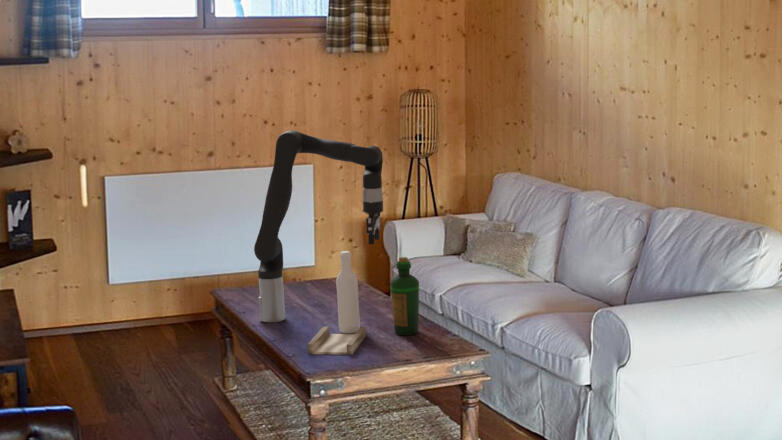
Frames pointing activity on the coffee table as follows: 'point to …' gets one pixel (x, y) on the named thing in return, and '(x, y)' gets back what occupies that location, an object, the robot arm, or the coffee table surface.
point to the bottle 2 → (405, 299)
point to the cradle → (336, 342)
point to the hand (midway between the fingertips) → (374, 241)
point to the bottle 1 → (347, 296)
